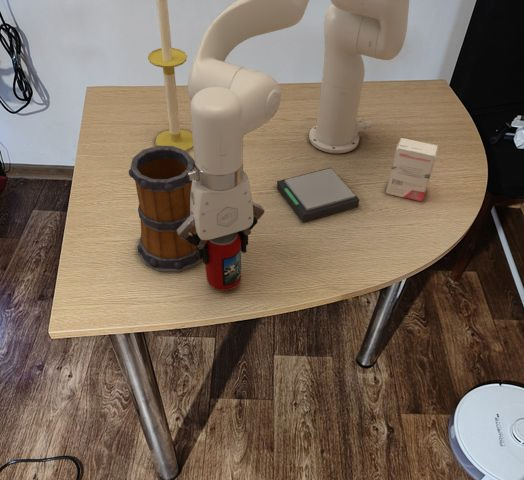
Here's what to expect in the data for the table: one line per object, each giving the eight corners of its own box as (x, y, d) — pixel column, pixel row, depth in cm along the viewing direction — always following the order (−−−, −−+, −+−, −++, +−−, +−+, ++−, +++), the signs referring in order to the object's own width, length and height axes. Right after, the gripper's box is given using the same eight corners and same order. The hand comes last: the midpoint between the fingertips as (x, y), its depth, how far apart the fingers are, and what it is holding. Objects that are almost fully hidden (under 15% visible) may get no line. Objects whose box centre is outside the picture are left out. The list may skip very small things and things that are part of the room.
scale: (329, 174, 130) (331, 165, 128) (358, 207, 123) (360, 197, 121) (276, 188, 126) (277, 178, 124) (302, 222, 119) (303, 213, 117)
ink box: (425, 190, 128) (440, 144, 119) (422, 202, 125) (437, 156, 116) (388, 181, 129) (400, 135, 120) (384, 194, 127) (396, 147, 117)
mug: (129, 216, 119) (112, 130, 103) (195, 206, 122) (189, 121, 106) (143, 278, 108) (126, 193, 92) (215, 266, 110) (211, 181, 95)
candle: (162, 127, 140) (142, -46, 110) (200, 133, 139) (190, -41, 109) (150, 149, 134) (124, -28, 104) (189, 155, 133) (175, -22, 103)
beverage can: (237, 295, 105) (236, 249, 95) (202, 289, 106) (198, 242, 96) (244, 270, 109) (244, 223, 99) (211, 265, 110) (208, 217, 100)
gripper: (175, 198, 83) (185, 281, 97) (279, 171, 88) (274, 253, 102) (159, 170, 87) (171, 253, 101) (259, 146, 91) (257, 228, 106)
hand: (222, 253), depth 101 cm, fingers closed on beverage can, 6 cm apart
